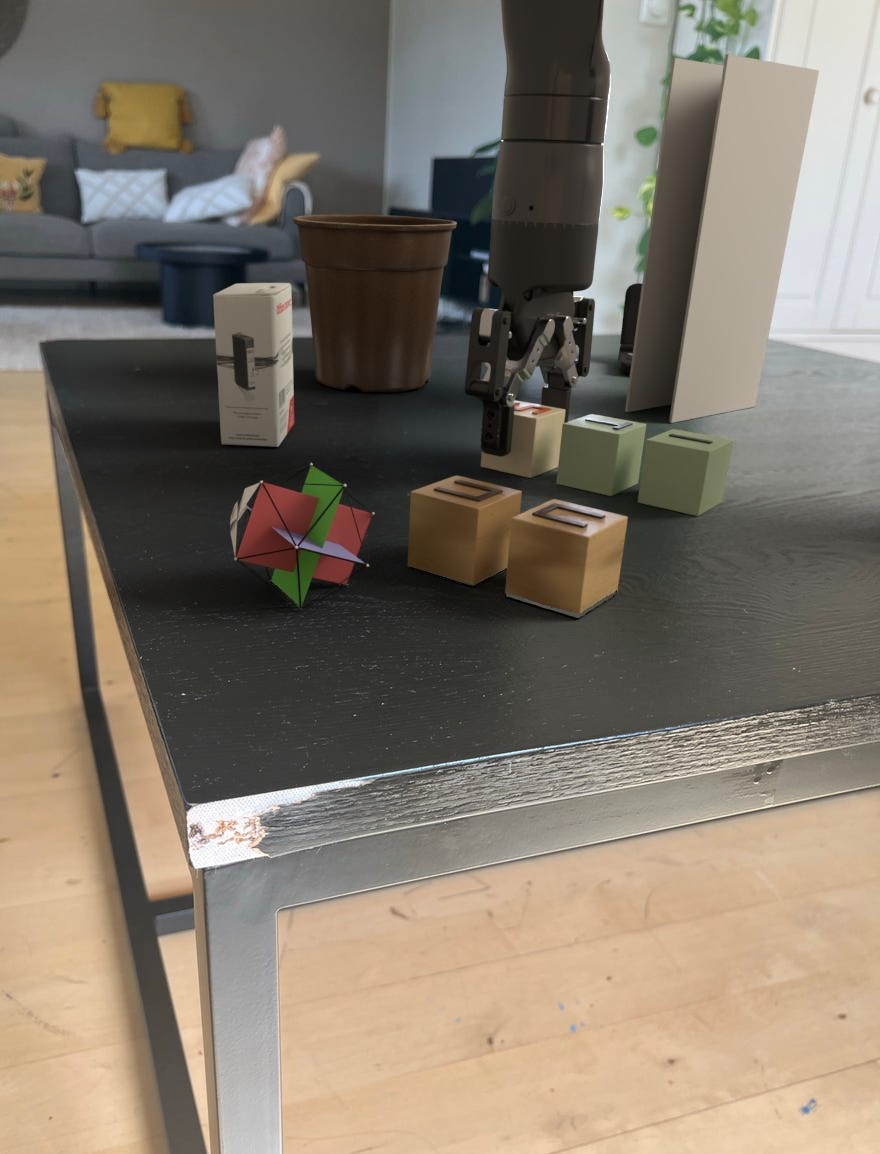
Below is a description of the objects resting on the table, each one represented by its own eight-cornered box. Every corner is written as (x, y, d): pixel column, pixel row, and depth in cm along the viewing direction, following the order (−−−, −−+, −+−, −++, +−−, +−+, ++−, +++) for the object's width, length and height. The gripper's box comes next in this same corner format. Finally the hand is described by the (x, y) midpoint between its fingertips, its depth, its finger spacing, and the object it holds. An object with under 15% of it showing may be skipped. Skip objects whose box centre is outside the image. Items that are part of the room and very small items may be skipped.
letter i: (637, 502, 69) (646, 437, 67) (663, 489, 73) (673, 426, 71) (698, 516, 67) (709, 449, 65) (722, 502, 70) (734, 438, 68)
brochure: (709, 396, 105) (764, 73, 92) (755, 406, 101) (819, 70, 88) (625, 411, 97) (672, 58, 84) (671, 422, 93) (728, 54, 80)
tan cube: (406, 567, 56) (410, 489, 54) (451, 547, 60) (456, 472, 58) (472, 587, 54) (478, 506, 52) (515, 565, 57) (522, 488, 55)
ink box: (239, 421, 87) (235, 279, 82) (295, 424, 87) (294, 282, 82) (217, 445, 79) (211, 290, 74) (279, 448, 79) (276, 293, 74)
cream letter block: (480, 466, 76) (484, 407, 74) (510, 456, 80) (515, 398, 78) (530, 478, 74) (536, 416, 72) (559, 466, 77) (566, 407, 75)
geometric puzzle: (367, 522, 57) (287, 417, 52) (426, 561, 51) (343, 448, 46) (275, 607, 56) (185, 509, 51) (325, 656, 50) (230, 552, 46)
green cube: (555, 483, 73) (562, 421, 71) (584, 471, 76) (591, 412, 74) (611, 496, 70) (619, 432, 68) (638, 483, 74) (647, 422, 72)
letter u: (503, 597, 53) (511, 514, 51) (545, 574, 56) (553, 496, 54) (578, 620, 50) (589, 534, 49) (617, 594, 54) (629, 513, 52)
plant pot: (349, 404, 95) (352, 222, 88) (266, 375, 106) (263, 212, 99) (478, 389, 104) (490, 223, 97) (389, 364, 115) (394, 214, 108)
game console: (618, 375, 114) (629, 293, 110) (616, 357, 126) (626, 282, 122) (757, 385, 112) (773, 302, 108) (741, 365, 124) (755, 289, 120)
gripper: (541, 220, 62) (519, 472, 69) (638, 217, 72) (610, 437, 79) (443, 213, 66) (431, 452, 73) (548, 212, 76) (529, 421, 83)
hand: (525, 444), depth 76 cm, fingers open, 8 cm apart
